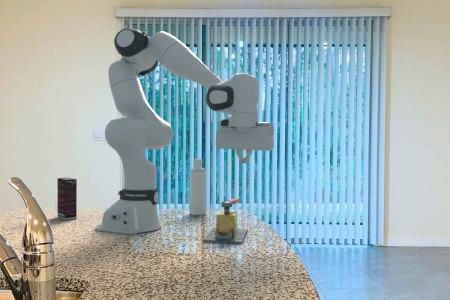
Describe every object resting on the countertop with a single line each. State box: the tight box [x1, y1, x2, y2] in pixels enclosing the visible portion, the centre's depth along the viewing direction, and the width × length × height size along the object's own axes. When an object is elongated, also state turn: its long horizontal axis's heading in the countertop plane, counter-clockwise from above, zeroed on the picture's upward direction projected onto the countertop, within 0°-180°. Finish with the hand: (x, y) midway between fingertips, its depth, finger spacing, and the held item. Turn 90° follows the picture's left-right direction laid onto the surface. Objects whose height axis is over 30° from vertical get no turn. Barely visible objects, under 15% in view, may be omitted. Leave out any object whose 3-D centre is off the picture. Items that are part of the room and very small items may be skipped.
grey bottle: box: [189, 158, 207, 216], centre depth 165 cm, size 7×7×25 cm
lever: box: [220, 198, 240, 208], centre depth 130 cm, size 11×4×1 cm, turn 158°
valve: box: [202, 207, 248, 245], centre depth 127 cm, size 12×17×10 cm
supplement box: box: [56, 177, 78, 221], centre depth 154 cm, size 9×5×16 cm, turn 43°
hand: (243, 163), depth 131 cm, fingers closed
